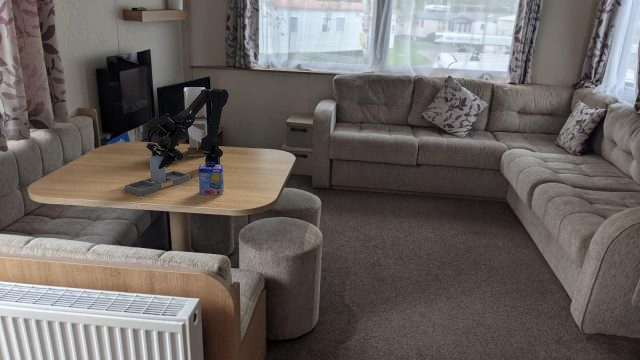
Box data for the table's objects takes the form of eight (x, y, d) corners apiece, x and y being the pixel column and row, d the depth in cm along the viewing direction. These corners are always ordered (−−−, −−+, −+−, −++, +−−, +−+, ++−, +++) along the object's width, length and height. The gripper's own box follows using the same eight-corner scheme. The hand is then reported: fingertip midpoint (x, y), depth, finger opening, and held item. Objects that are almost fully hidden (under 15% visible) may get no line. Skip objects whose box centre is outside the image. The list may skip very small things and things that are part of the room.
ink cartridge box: (199, 195, 209) (197, 162, 204) (201, 190, 214) (199, 159, 210) (222, 195, 210) (221, 163, 205) (224, 191, 215) (223, 159, 211)
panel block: (158, 178, 221) (156, 155, 218) (166, 181, 219) (164, 157, 215) (151, 181, 218) (149, 157, 215) (158, 183, 216) (157, 159, 212)
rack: (174, 175, 233) (174, 170, 232) (190, 179, 227) (190, 174, 227) (125, 190, 211) (124, 185, 210) (141, 196, 206) (141, 190, 205)
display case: (187, 150, 273) (184, 87, 262) (207, 150, 276) (204, 87, 265) (187, 156, 263) (184, 90, 252) (208, 155, 265) (205, 90, 254)
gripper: (147, 125, 219) (129, 154, 214) (177, 131, 210) (158, 162, 204) (163, 138, 228) (145, 167, 223) (191, 145, 218) (174, 175, 213)
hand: (155, 167), depth 215 cm, fingers closed on panel block, 5 cm apart
